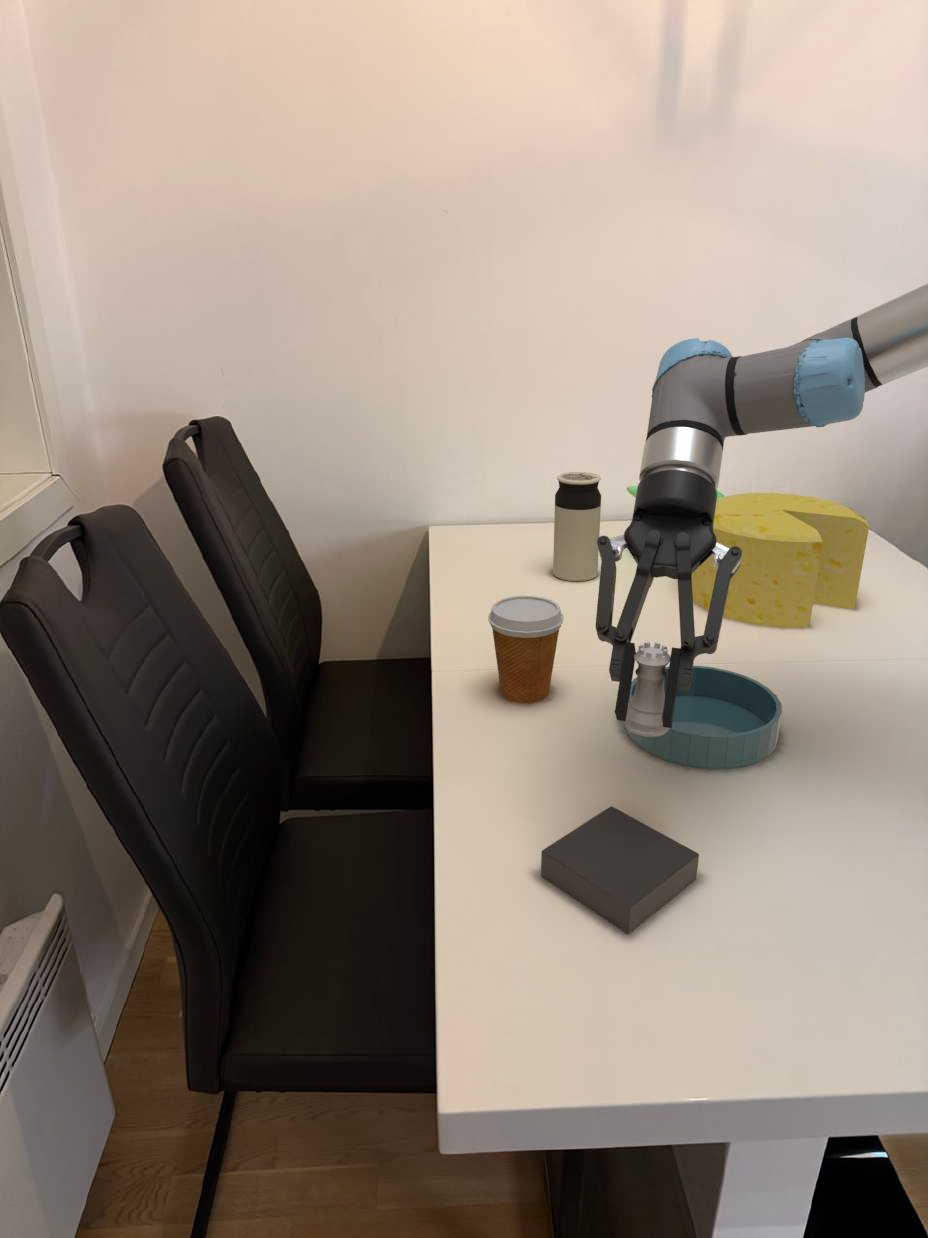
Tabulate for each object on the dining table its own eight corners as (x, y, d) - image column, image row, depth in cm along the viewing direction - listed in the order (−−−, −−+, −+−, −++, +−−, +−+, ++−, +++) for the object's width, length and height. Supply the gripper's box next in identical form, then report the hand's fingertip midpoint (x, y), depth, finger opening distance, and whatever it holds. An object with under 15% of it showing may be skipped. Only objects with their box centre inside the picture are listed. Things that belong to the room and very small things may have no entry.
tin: (810, 750, 96) (815, 717, 94) (681, 784, 90) (685, 750, 88) (713, 685, 111) (716, 655, 109) (597, 711, 105) (599, 680, 103)
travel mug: (587, 585, 146) (591, 484, 139) (545, 578, 150) (548, 479, 143) (604, 571, 153) (609, 474, 146) (563, 565, 156) (566, 469, 149)
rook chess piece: (678, 737, 75) (685, 657, 72) (629, 740, 75) (634, 659, 72) (664, 713, 79) (670, 636, 76) (617, 715, 79) (622, 638, 76)
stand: (696, 880, 76) (699, 853, 75) (628, 936, 70) (630, 907, 69) (609, 830, 83) (611, 805, 82) (540, 877, 77) (541, 850, 76)
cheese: (873, 633, 126) (891, 537, 120) (693, 623, 130) (703, 530, 124) (835, 574, 149) (848, 491, 143) (684, 567, 154) (691, 487, 148)
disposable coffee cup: (491, 675, 115) (490, 593, 110) (561, 677, 114) (563, 595, 109) (485, 709, 106) (485, 622, 101) (561, 711, 105) (564, 624, 100)
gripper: (763, 512, 82) (739, 745, 74) (596, 501, 87) (557, 718, 79) (770, 470, 75) (744, 721, 67) (589, 461, 80) (544, 694, 72)
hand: (643, 719), depth 73 cm, fingers closed on rook chess piece, 3 cm apart
